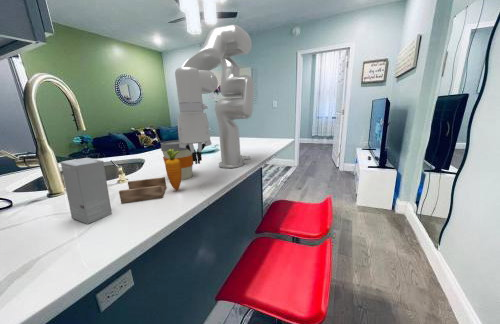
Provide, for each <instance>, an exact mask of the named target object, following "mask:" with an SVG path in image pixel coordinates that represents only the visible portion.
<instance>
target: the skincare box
mask: <svg viewBox="0 0 500 324" xmlns="http://www.w3.org/2000/svg"><path fill="white" fill-rule="evenodd" d="M60 165H61V170H62V175H63V180H64V185H65V190H66V191H65V192H66V195H67V200H68V201H67V202H68V207H69V211H70V216H71V219H73V220H77V221H79V222H81V223H82V224H83V223H84V224H86V225H88V224H91V223H94V222H96V221H98V220H100V219H103V218H106V217H108V216H110V215H112V213H113V212H112V208H111V200H110V193H109V188H108V187H109V186H108V181H107V176H106V175H107V174H106V168H105V162H104V160H102V159H98V158H91V157H84V158H83V157H82V158H77V159H70V160H63V161H60Z"/></svg>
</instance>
